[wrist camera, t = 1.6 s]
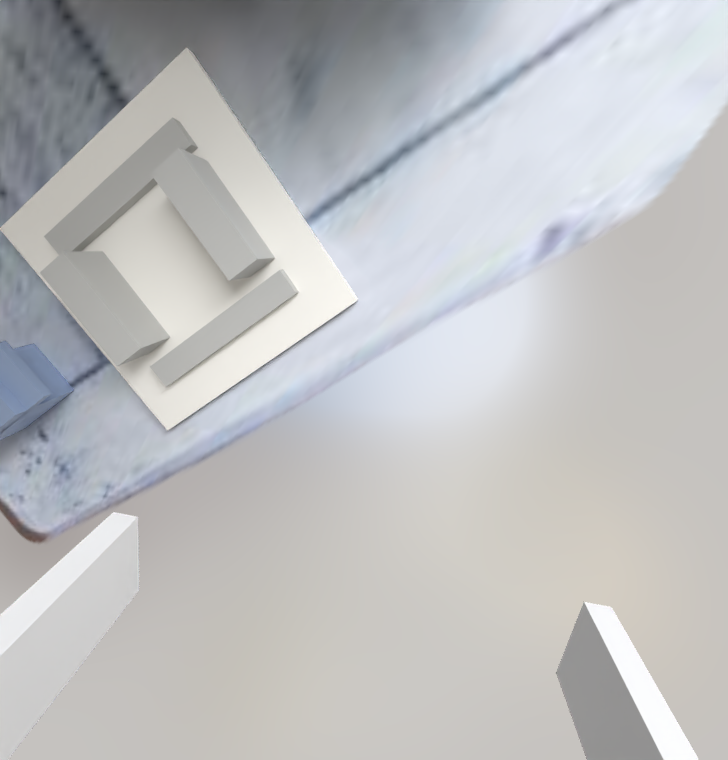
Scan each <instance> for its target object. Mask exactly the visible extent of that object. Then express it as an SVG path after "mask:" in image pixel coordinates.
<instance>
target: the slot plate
mask: <svg viewBox="0 0 728 760" xmlns="http://www.w3.org/2000/svg"><path fill="white" fill-rule="evenodd" d="M0 230H1V231H2V232H3V233H4V235H5V236H6V237H7V238H8V239H9V241H10V242H11V243H12V244H13V245H14V247H15V248H16V249H17V250H18V251H19V253H20V254H21V255H22V256H23V257H24V259H25V260H26V261H27V262H28V264H29V265H30V266H31V267H32V268H33V270H34V271H35V272H36V273H37V274H38V276H39V277H40V278H41V279H42V280H43V282H44V283H45V284H46V285H47V286H48V288H49V289H50V290H51V291H52V292H53V294H54V295H55V296H56V297H57V298H58V300H59V301H60V302H61V303H62V304H63V306H64V307H65V308H66V309H67V310H68V312H69V313H70V314H71V315H72V316H73V318H74V319H75V320H76V321H77V322H78V324H79V325H80V326H81V327H82V328H83V330H84V331H85V332H86V333H87V334H88V336H89V337H90V338H91V339H92V341H93V342H94V343H95V344H96V345H97V347H98V348H99V349H100V350H101V351H102V353H103V354H104V355H105V356H106V357H107V359H108V360H109V361H110V362H111V363H112V365H113V366H114V367H115V368H116V369H117V371H118V372H119V373H120V374H121V375H122V377H123V378H124V379H125V380H126V381H127V383H128V384H129V385H130V386H131V387H132V389H133V390H134V391H135V392H136V393H137V395H138V396H139V397H140V398H141V399H142V401H143V402H144V403H145V404H146V405H147V407H148V408H149V409H150V410H151V412H152V413H153V414H154V415H155V416H156V418H157V419H158V420H159V421H160V422H161V424H162V425H163V426H164V427H165V428H166V430H167V431H168V430H169V429H171V428H172V427H174V426H175V425H177V424H178V423H180V422H181V421H183V420H184V419H185V418H187V417H188V416H190V415H191V414H193V413H194V412H196V411H197V410H199V409H200V408H201V407H203V406H204V405H206V404H207V403H209V402H210V401H212V400H213V399H215V398H216V397H218V396H219V395H220V394H222V393H223V392H225V391H226V390H228V389H229V388H231V387H232V386H234V385H235V384H236V383H238V382H239V381H241V380H242V379H244V378H245V377H247V376H248V375H250V374H251V373H253V372H254V371H255V370H257V369H258V368H260V367H261V366H263V365H264V364H266V363H267V362H269V361H270V360H271V359H273V358H274V357H276V356H277V355H279V354H280V353H282V352H283V351H285V350H286V349H288V348H289V347H290V346H292V345H293V344H295V343H296V342H298V341H299V340H301V339H302V338H304V337H305V336H307V335H308V334H309V333H311V332H312V331H314V330H315V329H317V328H318V327H320V326H321V325H323V324H324V323H325V322H327V321H328V320H330V319H331V318H333V317H334V316H336V315H337V314H339V313H340V312H342V311H343V310H344V309H346V308H347V307H349V306H350V305H352V304H353V303H355V302H356V301H357V300H358V298H357V296H356V295H355V293H354V292H353V290H352V289H351V287H350V286H349V284H348V283H347V281H346V280H345V278H344V277H343V275H342V274H341V272H340V271H339V269H338V268H337V266H336V265H335V263H334V262H333V260H332V259H331V258H330V256H329V255H328V253H327V252H326V250H325V249H324V247H323V246H322V244H321V243H320V241H319V240H318V238H317V237H316V235H315V234H314V232H313V231H312V229H311V228H310V226H309V225H308V223H307V222H306V220H305V219H304V217H303V216H302V214H301V213H300V211H299V210H298V208H297V207H296V205H295V204H294V202H293V201H292V199H291V198H290V196H289V195H288V193H287V192H286V190H285V189H284V187H283V186H282V184H281V183H280V181H279V180H278V178H277V177H276V175H275V174H274V172H273V171H272V169H271V168H270V167H269V165H268V164H267V162H266V161H265V159H264V158H263V156H262V155H261V153H260V152H259V150H258V149H257V147H256V146H255V144H254V143H253V141H252V140H251V138H250V137H249V135H248V134H247V132H246V131H245V129H244V128H243V126H242V125H241V123H240V122H239V120H238V119H237V117H236V116H235V114H234V113H233V111H232V110H231V108H230V107H229V105H228V104H227V102H226V101H225V99H224V98H223V96H222V95H221V93H220V92H219V90H218V89H217V87H216V86H215V84H214V83H213V81H212V80H211V78H210V77H209V75H208V74H207V73H206V71H205V70H204V68H203V67H202V65H201V64H200V62H199V61H198V59H197V58H196V56H195V55H194V53H193V52H192V51H191V50H189V49H188V48H187V47H186V48H185V49H184V50H183V51H182V52H181V53H180V54H179V55H178V56H177V57H176V58H175V59H174V60H173V61H172V62H171V63H169V64H168V65H167V66H166V67H165V68H164V69H163V70H162V71H161V72H160V73H159V74H158V75H157V76H156V77H155V78H154V79H153V80H152V81H151V82H150V83H149V84H148V85H147V86H146V87H145V88H144V89H143V90H142V91H141V92H140V93H139V94H138V95H137V96H135V97H134V98H133V99H132V100H131V101H130V102H129V103H128V104H127V105H126V106H125V107H124V108H123V109H122V110H121V111H120V112H119V113H118V114H117V115H116V116H115V117H114V118H113V119H112V120H111V121H110V122H109V123H108V124H107V125H106V126H105V127H104V128H102V129H101V130H100V131H99V132H98V133H97V134H96V135H95V136H94V137H93V138H92V139H91V140H90V141H89V142H88V143H87V144H86V145H85V146H84V147H83V148H82V149H81V150H80V151H79V152H78V153H77V154H76V155H75V156H74V157H73V158H72V159H71V160H70V161H68V162H67V163H66V164H65V165H64V166H63V167H62V168H61V169H60V170H59V171H58V172H57V173H56V174H55V175H54V176H53V177H52V178H51V179H50V180H49V181H48V182H47V183H46V184H45V185H44V186H43V187H42V188H41V189H40V190H39V191H38V192H37V193H35V194H34V195H33V196H32V197H31V198H30V199H29V200H28V201H27V202H26V203H25V204H24V205H23V206H22V207H21V208H20V209H19V210H18V211H17V212H16V213H15V214H14V215H13V216H12V217H11V218H10V219H9V220H8V221H7V222H6V223H5V224H4V225H3V226H1V227H0Z"/></svg>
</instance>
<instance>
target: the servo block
mask: <svg viewBox="0 0 728 760" xmlns="http://www.w3.org/2000/svg"><path fill="white" fill-rule="evenodd" d="M72 391H74V389H73V388H72V387H71V386H70V385H69V383H68V382H67V381H66V380H65V379H64V378H63V376H62V375H61V374H60V373H59V372H58V371H57V369H56V368H55V367H54V366H53V365H52V364H51V363H50V361H49V360H48V359H47V358H46V357H45V356H44V354H43V353H42V352H41V351H40V350H39V349H38V348H37V346H36V345H35V344H30V345H26V346H22V347H18V348H15V349H12V347H11V346H10V345H9V344H8V343H7V342H6V341H3V342H0V440H1V439H4V438H6V437H8V436H10V435H12V434H14V433H16V432H18V431H21V430H23V429H25V428H26V427H27V426H28V425H30V424H31V423H32V422H34V421H35V420H36V419H37V418H39V417H40V416H41V415H43V414H44V413H45V412H46V411H48V410H49V409H50V408H52V407H53V406H54V405H56V404H57V403H58V402H59V401H61V400H62V399H63V398H65V397H66V396H67V395H68V394H70V393H71V392H72Z"/></svg>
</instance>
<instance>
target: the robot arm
mask: <svg viewBox="0 0 728 760" xmlns="http://www.w3.org/2000/svg"><path fill="white" fill-rule="evenodd" d="M138 540H139V537H138V517H137V516H131V515H126V514H120V513H116V512H113V513H112V514H111V515H110V516H109V517H107V518H106V519H105V520H104V521H103V522H102V523H101V524H100V525H99V526H97V528H95V529H94V530H93V531H92V532H91V533H90V534H89V535H88V536H87V537H86V538H84V539H83V540H82V541H81V542H80V543H79V544H78V545H77V546H75V547H74V548H73V549H72V550H71V551H70V552H69V553H68V554H67V555H66V556H64V557H63V558H62V559H61V560H60V561H59V562H58V563H57V564H56V565H55V566H53V567H52V568H51V569H50V570H49V571H48V572H47V573H46V574H45V575H44V576H42V577H41V578H40V579H39V580H38V581H37V582H36V583H35V584H34V585H33V586H31V587H30V588H29V589H28V590H27V591H26V592H25V593H24V594H23V595H21V596H20V597H19V598H18V599H17V600H16V601H15V602H14V603H13V604H12V605H11V606H9V607H8V608H7V609H6V610H5V611H4V612H3V613H2V614H1V615H0V760H8V759H9V758H10V756H11V755H12V754H13V753H14V751H15V750H16V749H17V747H18V746H19V745H20V744H21V742H22V741H23V740H24V738H25V737H26V736H27V734H28V733H29V732H30V730H31V729H32V728H33V727H34V726H35V724H36V723H37V722H38V720H39V719H40V718H41V716H42V715H43V714H44V712H45V711H46V710H47V709H48V707H49V706H50V705H51V704H52V702H53V701H54V700H55V698H56V697H57V696H58V695H59V693H60V692H61V691H62V689H63V688H64V687H65V686H66V684H67V683H68V682H69V680H70V679H71V678H72V676H73V675H74V674H75V673H76V671H77V670H78V669H79V667H80V666H81V665H82V664H83V662H84V661H85V660H86V658H87V657H88V656H89V654H90V653H91V652H92V651H93V649H94V648H95V647H96V645H97V644H98V643H99V642H100V640H101V639H102V637H103V636H104V635H105V634H106V633H107V631H108V630H109V629H110V627H111V626H112V625H113V624H114V622H115V621H116V620H117V618H118V617H119V616H120V615H121V613H122V612H123V611H124V609H125V608H126V607H127V605H128V604H129V603H130V602H131V600H132V599H133V597H134V596H135V595H136V594H137V592H138V591H139V541H138ZM556 674H557V677H558V679H559V682H560V685H561V688H562V691H563V694H564V697H565V699H566V702H567V705H568V708H569V710H570V713H571V716H572V719H573V722H574V725H575V728H576V730H577V733H578V736H579V739H580V742H581V744H582V747H583V750H584V753H585V756H586V759H587V760H699V759H698V758H697V756H696V754H695V752H694V751H693V749H692V747H691V745H690V744H689V742H688V740H687V738H686V737H685V735H684V733H683V731H682V730H681V728H680V726H679V725H678V723H677V721H676V719H675V717H674V716H673V714H672V712H671V710H670V709H669V707H668V706H667V704H666V702H665V700H664V698H663V696H662V695H661V693H660V691H659V689H658V688H657V686H656V684H655V682H654V681H653V679H652V677H651V675H650V674H649V672H648V671H647V668H646V667H645V665H644V663H643V661H642V660H641V658H640V656H639V655H638V653H637V651H636V649H635V647H634V646H633V644H632V642H631V641H630V639H629V637H628V635H627V633H626V632H625V630H624V628H623V627H622V625H621V623H620V621H619V620H618V618H617V616H616V614H615V613H614V611H613V609H612V607H609V606H603V605H598V604H592V603H587V602H584V603H583V606H582V608H581V611H580V614H579V616H578V619H577V621H576V624H575V626H574V629H573V631H572V634H571V636H570V639H569V641H568V644H567V646H566V649H565V652H564V654H563V657H562V659H561V661H560V664H559V667H558V669H557V672H556Z"/></svg>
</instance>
